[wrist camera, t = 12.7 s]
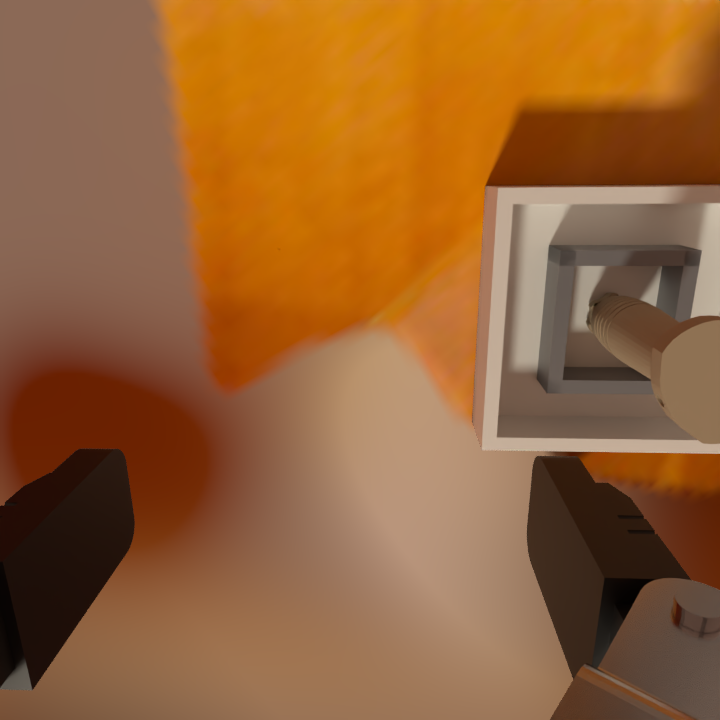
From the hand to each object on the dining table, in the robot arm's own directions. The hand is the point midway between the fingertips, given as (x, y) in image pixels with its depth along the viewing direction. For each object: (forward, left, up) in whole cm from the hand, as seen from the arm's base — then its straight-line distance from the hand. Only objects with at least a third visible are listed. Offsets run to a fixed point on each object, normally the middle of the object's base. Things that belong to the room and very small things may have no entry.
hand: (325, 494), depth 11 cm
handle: (+4, +17, -32) cm, 37 cm away
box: (+4, +17, -33) cm, 37 cm away
